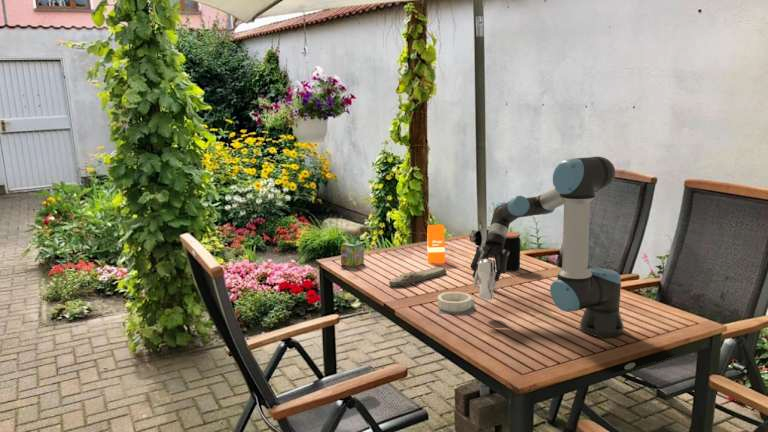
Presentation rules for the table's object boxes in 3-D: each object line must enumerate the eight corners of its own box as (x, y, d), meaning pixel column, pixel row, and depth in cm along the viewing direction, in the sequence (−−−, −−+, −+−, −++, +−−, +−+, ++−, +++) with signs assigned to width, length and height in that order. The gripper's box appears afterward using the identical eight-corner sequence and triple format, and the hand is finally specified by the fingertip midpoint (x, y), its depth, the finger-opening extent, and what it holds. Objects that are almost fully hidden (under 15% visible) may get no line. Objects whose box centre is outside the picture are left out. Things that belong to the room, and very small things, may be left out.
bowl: (471, 312, 241) (471, 303, 240) (436, 311, 243) (436, 302, 242) (471, 301, 255) (471, 292, 254) (439, 300, 257) (438, 291, 256)
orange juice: (444, 262, 317) (444, 226, 313) (428, 263, 317) (427, 226, 313) (443, 258, 325) (443, 223, 321) (427, 259, 325) (426, 223, 321)
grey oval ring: (473, 315, 239) (473, 314, 239) (438, 314, 241) (438, 313, 241) (474, 300, 256) (474, 299, 256) (441, 300, 259) (441, 298, 259)
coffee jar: (522, 267, 305) (523, 232, 301) (515, 272, 296) (515, 237, 292) (502, 264, 310) (503, 230, 307) (495, 269, 302) (495, 235, 298)
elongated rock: (451, 277, 297) (437, 274, 304) (451, 266, 296) (437, 264, 304) (398, 288, 275) (384, 285, 282) (397, 277, 274) (384, 274, 282)
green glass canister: (340, 265, 318) (339, 238, 315) (351, 261, 325) (350, 235, 323) (354, 267, 313) (353, 240, 310) (364, 263, 320) (363, 236, 317)
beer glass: (491, 301, 231) (491, 263, 228) (474, 298, 235) (474, 261, 232) (498, 296, 237) (498, 259, 234) (481, 293, 241) (481, 257, 238)
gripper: (521, 244, 241) (509, 294, 230) (476, 240, 250) (462, 288, 239) (518, 233, 235) (505, 284, 224) (471, 230, 245) (457, 279, 234)
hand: (483, 286), depth 232 cm, fingers closed on beer glass, 6 cm apart
